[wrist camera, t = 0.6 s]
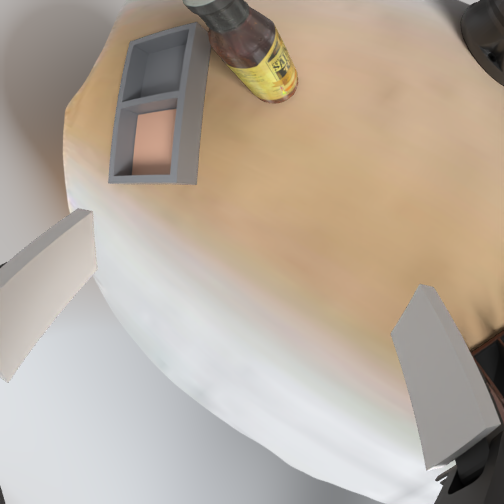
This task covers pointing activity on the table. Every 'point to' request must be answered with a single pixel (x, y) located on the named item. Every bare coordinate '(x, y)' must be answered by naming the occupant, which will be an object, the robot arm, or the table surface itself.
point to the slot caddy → (161, 108)
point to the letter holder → (493, 367)
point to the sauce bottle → (249, 47)
